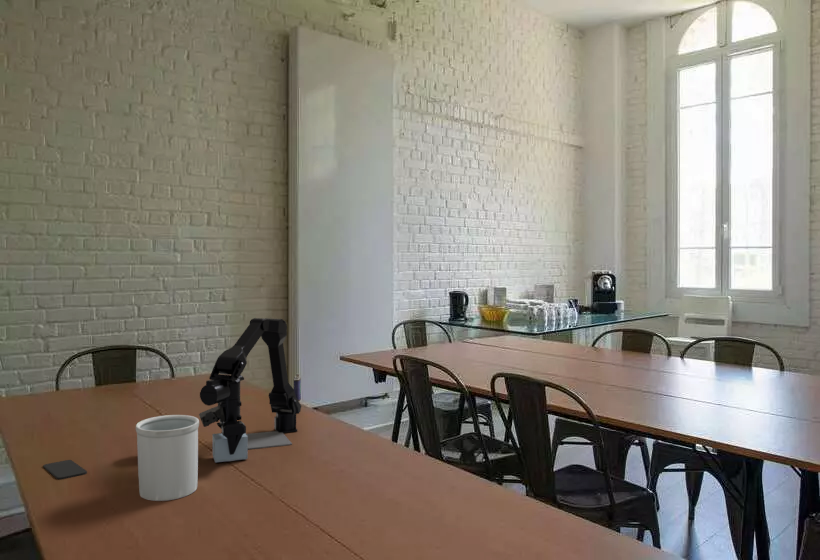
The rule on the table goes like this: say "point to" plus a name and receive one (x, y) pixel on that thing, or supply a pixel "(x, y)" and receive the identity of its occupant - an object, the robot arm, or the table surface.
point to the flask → (297, 386)
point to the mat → (267, 440)
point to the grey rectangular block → (222, 448)
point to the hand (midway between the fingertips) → (229, 451)
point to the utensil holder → (167, 456)
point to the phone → (64, 469)
